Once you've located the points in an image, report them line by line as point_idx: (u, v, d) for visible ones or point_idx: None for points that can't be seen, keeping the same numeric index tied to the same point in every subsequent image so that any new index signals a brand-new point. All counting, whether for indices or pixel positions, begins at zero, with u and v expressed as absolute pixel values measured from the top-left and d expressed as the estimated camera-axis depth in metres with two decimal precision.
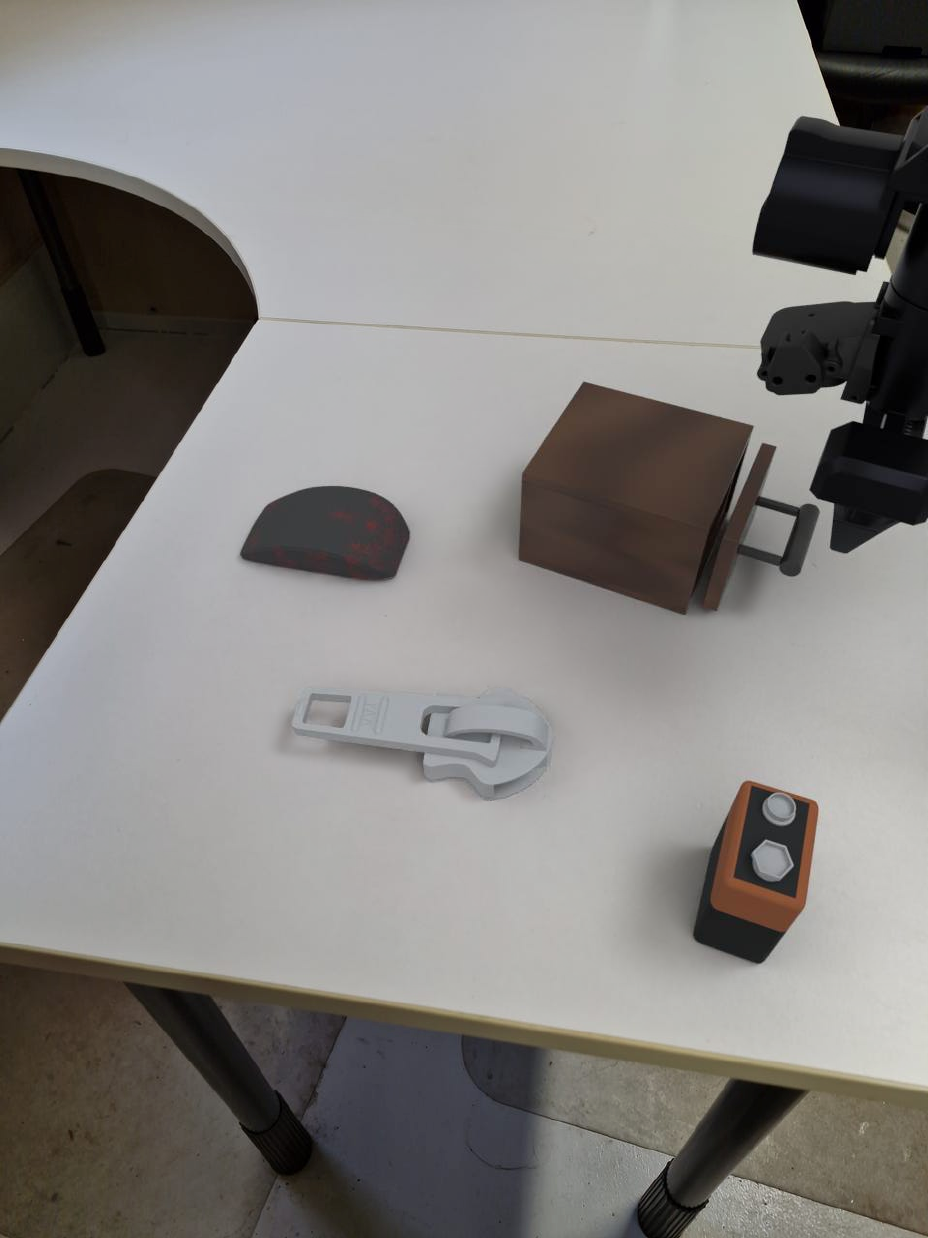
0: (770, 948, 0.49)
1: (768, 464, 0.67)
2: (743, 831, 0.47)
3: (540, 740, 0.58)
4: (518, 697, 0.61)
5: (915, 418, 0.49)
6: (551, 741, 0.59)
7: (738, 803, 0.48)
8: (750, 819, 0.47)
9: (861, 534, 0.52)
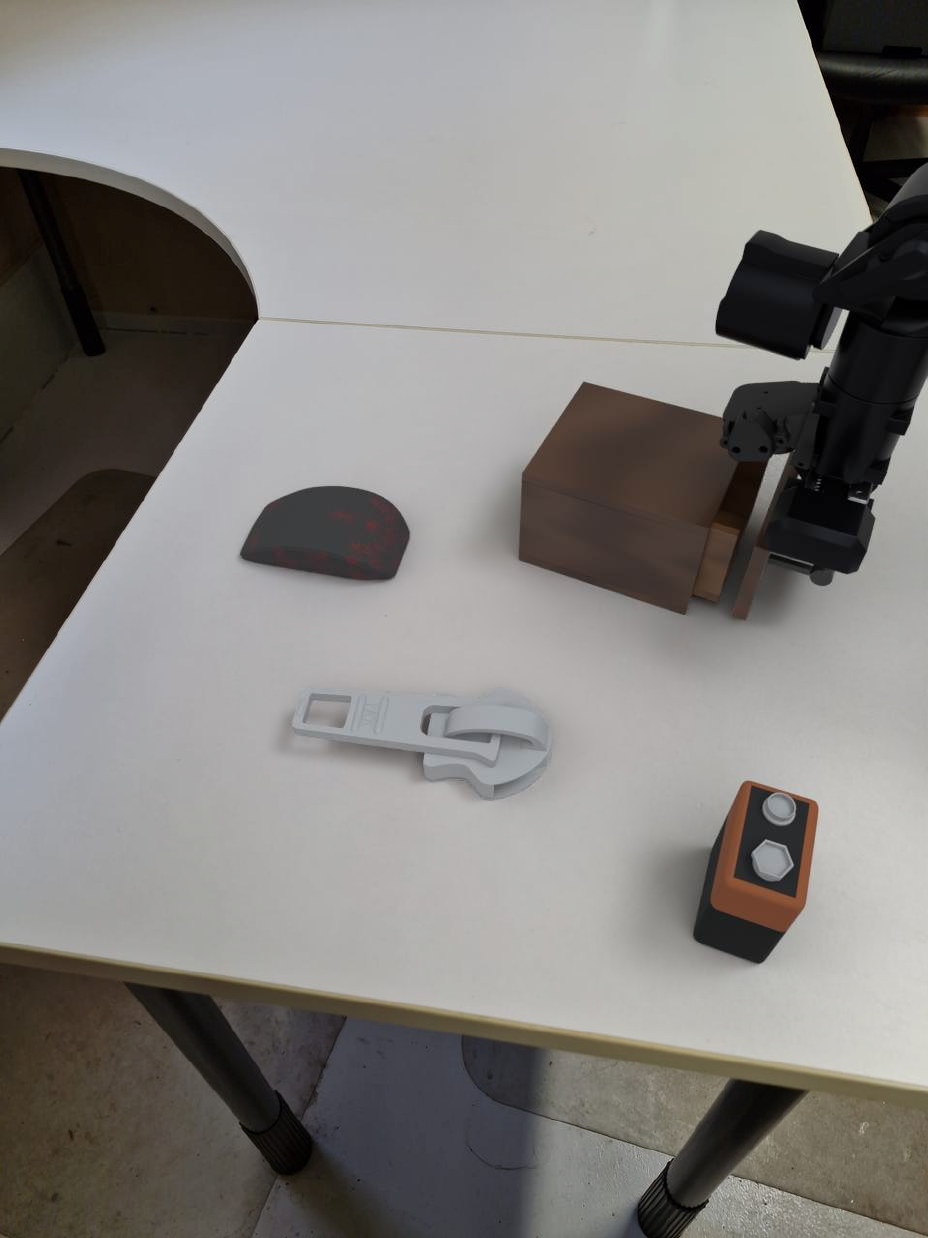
0: (770, 948, 0.49)
1: None
2: (743, 831, 0.47)
3: (540, 740, 0.58)
4: (518, 697, 0.61)
5: (851, 482, 0.58)
6: (551, 741, 0.59)
7: (738, 803, 0.48)
8: (750, 819, 0.47)
9: None
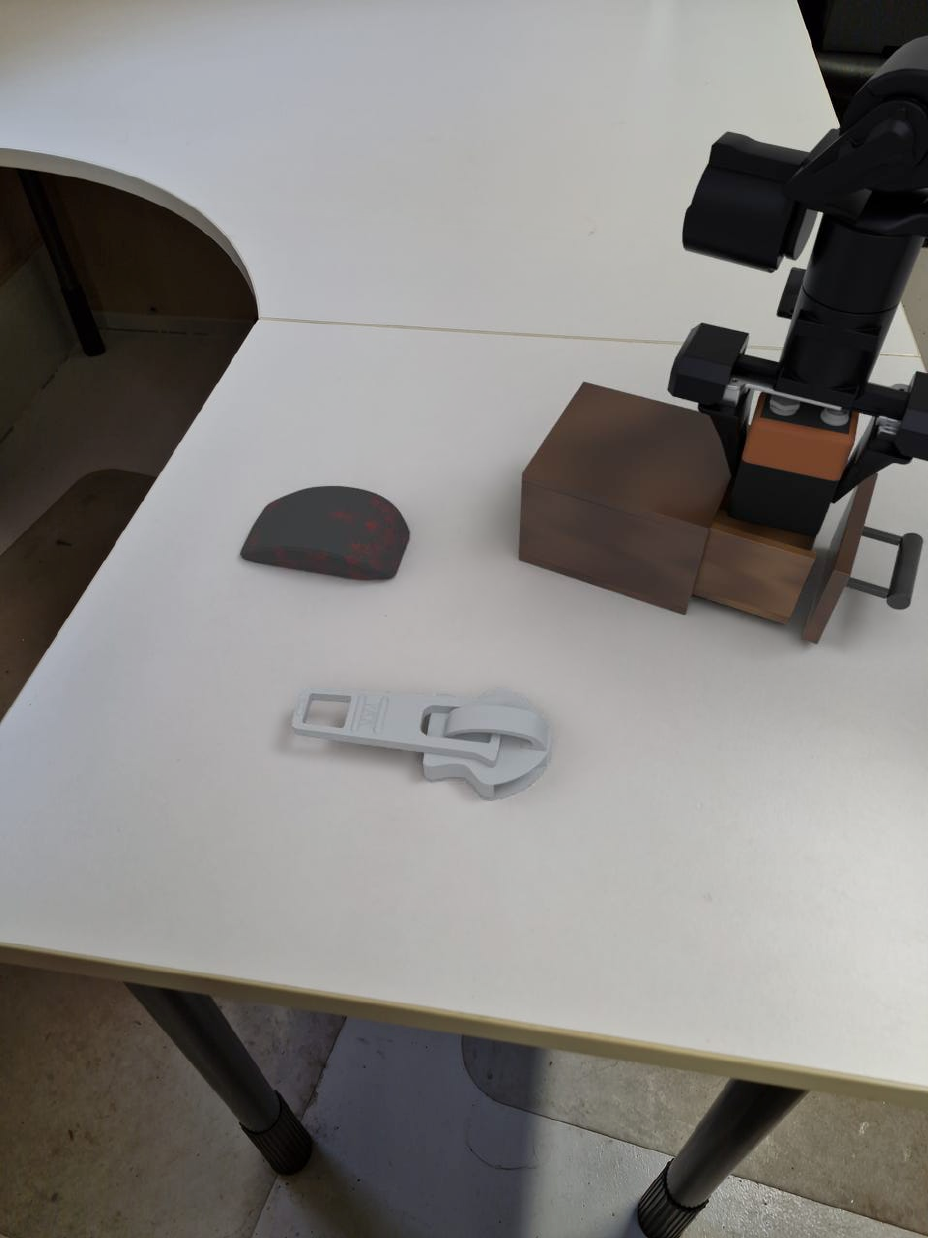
0: (734, 486, 0.63)
1: (871, 492, 0.65)
2: None
3: (540, 740, 0.58)
4: (518, 697, 0.61)
5: (776, 377, 0.57)
6: (551, 741, 0.59)
7: None
8: None
9: None
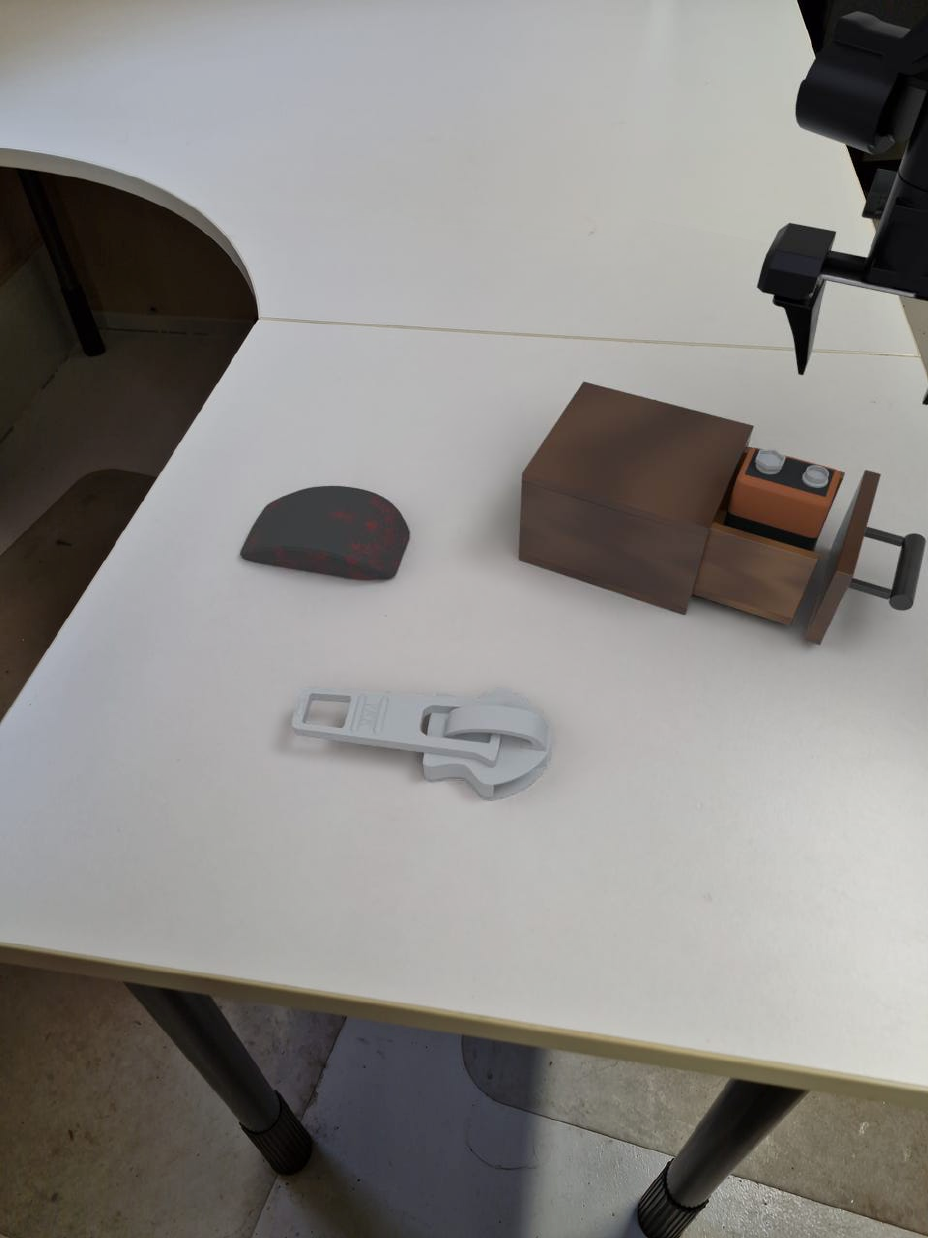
0: None
1: (874, 493, 0.65)
2: (793, 459, 0.63)
3: (540, 740, 0.58)
4: (518, 697, 0.61)
5: (865, 270, 0.59)
6: (551, 741, 0.59)
7: (818, 465, 0.63)
8: (804, 464, 0.63)
9: None
